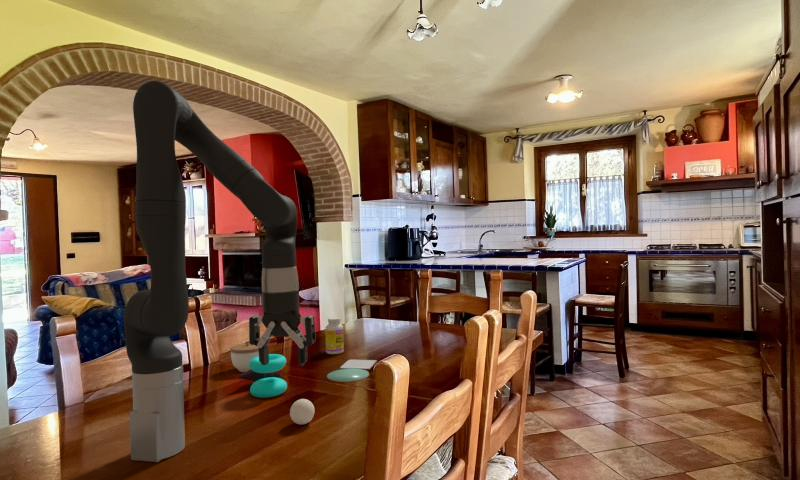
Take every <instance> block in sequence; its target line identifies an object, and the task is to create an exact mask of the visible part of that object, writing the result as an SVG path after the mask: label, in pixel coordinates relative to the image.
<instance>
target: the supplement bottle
mask: <svg viewBox="0 0 800 480" xmlns="http://www.w3.org/2000/svg"><path fill="white" fill-rule="evenodd" d="M341 319H342V318H341V317H339V316H334V317H333V316H332V317H328V318H327V322H328V323H327V325H326V326H325V327H324V328H325V329H324V330H325V353H326V354H328V355H339V354H342V353H344V351H345V350H344V348H345V347H344V346H345V344H344V337H345V336H344V325H342V323H341Z"/></svg>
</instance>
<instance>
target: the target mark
mask: <svg viewBox="0 0 800 480" xmlns="http://www.w3.org/2000/svg"><path fill="white" fill-rule="evenodd" d="M369 376H370V373H369V371H367V369H344V368H340V369H336V370H333V371H330V372H329V373H327V374H326V378H327V380H329V381H333V382H338V383H350V382H357V381H361V380H362V381H363V380H364V379H366V378H368V377H369Z"/></svg>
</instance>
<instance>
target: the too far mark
mask: <svg viewBox="0 0 800 480" xmlns="http://www.w3.org/2000/svg"><path fill="white" fill-rule="evenodd" d="M377 361H378V360H377V359H348V360H347V361H346V362H344V363H343V364H342V365H341V366H340V367H339V369H362V370H370V369H371V368H372V367H373V366H374V365H375V364H376V363H377Z"/></svg>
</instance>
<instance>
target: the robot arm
mask: <svg viewBox="0 0 800 480" xmlns="http://www.w3.org/2000/svg"><path fill="white" fill-rule="evenodd" d="M132 113H133V122H134V131H135V132H134V133H135V143H136V179H135V181H136V184H135V186H136V187H135V207H134V211H135V228H136V231H137V235H138V238H139V240H140V242H141V244H142V248H143V249H144V251H145V254H146V257H147V258H148V262H149V268H150V289H143V290H139V291H137V292H135V293H134V294H133V295H132V296H131V297H130V298H129V299H128V301H127V303H126V306H125V309H124V315H123V323H124V335H125V336H124V337H125V347H126V348H125V349H126V355H127V358H128V360H129V362H130V365H131V375H132V376H131V378H132V381H131V383H132V411H130V413H129V434H130V435H129V436H130V437H129V439H130V460H131V461H136V462H137V461H138V462H152V463H159V462H160V461H162V460H163V459H168V458H170V457H172V456H175V455H178V454H179V453H181V452H182V451H183V450H184V449H185V447H186V442H185V441H186V438H185V437H186V436H185V435H186V434H185V433H186V431H185V408H184V407H185V399H184V370H183V369H184V366H183V354H182V351H181V350H180V349H179V348H178V347H177V346H176V345H175V344H174V343H173V342H172V340H171V338H170V337H173V336H175V335H177V334H179V333H180V332H181V331H182V330H183V329H184V327H185V326H186V323H187V321H188V318H189V312H190V311H189V310H190V300H189V292H188V291H189V290H188V281H187V279H188V278H187V272H186V271H187V270H186V268H187V267H186V221H187V220H186V216H187V215H186V214H187V209H186V208H187V200H186V199H187V198H186V197H187V196H186V191H185V186H184V182H183V179H182V176H181V175H182V174H181V171H180V168H179V164H178V160H177V155H176V147H175V146H176V145H175V144H176V142H177V143H178V144H180V145H181V146H183V147H185V149H187V150H188V151H190V152H191V153H192V154H193V156H195V157H196V158H197V159H198V160H199V161H200V162H201V163H202V164H203V165H204V167H205V168H206V169H207V170H208V172H209V173H210V174H211V175H212V176H213V177H214V178H215V179H216V180H217V181H218V182H219V183H220V184H221V185H222V186H224V188H226V189H227V190H228V191H229V192H230V193H232V195H234V196H235V197H236V198H237V199H239V200H240V201H241V203H242V204H243V205H244V206H245V208H246V209H247V210H248V211H249V213H251V214H252V215H253V216H254V217H255V218H256V219H257V220H258V221H259V222H260V223H261V224H262V225H265V239H264V241H263V242H262V246H261V262H262V263H261V266H262V268H261V269H262V272H261V297H262V300H261V301H262V311H263V315H262V316H260V315H258V314H256V315H254V316H250V317H249V320H248V324H249V325H248V331H249V333H248V335H249V336H248V337H249V339H248V341H249V343H250V344H251V345H255V346H257V347H258V349H259V361H260V362H261V364H262V365H267V364H268V363H269V354H270V351H269V349H270V348H269V345H268V344H269V343H270V341H271V339H272V338H273V337H274V338H278V337H282V338H288V337H290V339H291V340H292V341H293V342H295V344H296V345H297V347H298V348H297V362H298V363H297V365H298V367H303V366H304V365H306V363H307V362H308V360H309V359H308V356H309V355H308V347H309V346H310V347H311V346H312V345H313V344H315V343H317V342H316V341H317V337H316V322H315V321H316V320H315V316H314V315H313V314H311V315H307V316H301V314H300V293H299V292H300V291H299V289H300V287H299V286H300V282H299V274H298V269H297V268H298V267H297V250H296V241H297V240H296V239H297V228H298V210H297V206H296V204H295V202H294V200H292V199H291V198H290V197H288V196H287V195H283V194H281V193H279V191H277V190H276V189H275V188H273V186H272V185H271V184H269V183H268V182H267V181H266V180H265V177H264V176H263V175H262V174H261V173H260V172H259V171H258V170H257V169H256V168H255V167H254V166H253V165H251V164H250V163H249V162H248V160H246V159H245V158H244V157H243V156H241V154H239V153H238V152H237V151H236V150H234V149H233V148H232V147H230V146H229V145H228V144H226V143H225V142H224V141H223V140H221V138H219V137H218V136H217V135H216V134H215V133H214V132H213V131H212V130H211V129H210V128H209V127H208V126H207V125H206V124H205V123H204V121H203V120H202V119H201V118H200V117H199V115H198V114H197V112H196V111H195V110H194V109H193V108H192V106H191V105H190V103H189V102H188V100H187V99H186V98H185V97H184V96H183V95H182V94H180V93H179V92H178V91H177V90H175V88H173V87H172V86H170V85H168V84H166V83H164V82H162V81H158V80H151V81H147V82H145V83H143V84H142V85H141V86H140V87H139V88H138V89H137V90H136V91H135V95H134V97H133V103H132ZM301 323H302V325H303V327H304V329H305V335H304V332H303V331H302V330H301V328H300V327H299V326H300V325H301ZM262 324H263V325H264V327H265V328H266V329H265V331H264V332H263V334H262V335H261V326H262Z"/></svg>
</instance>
